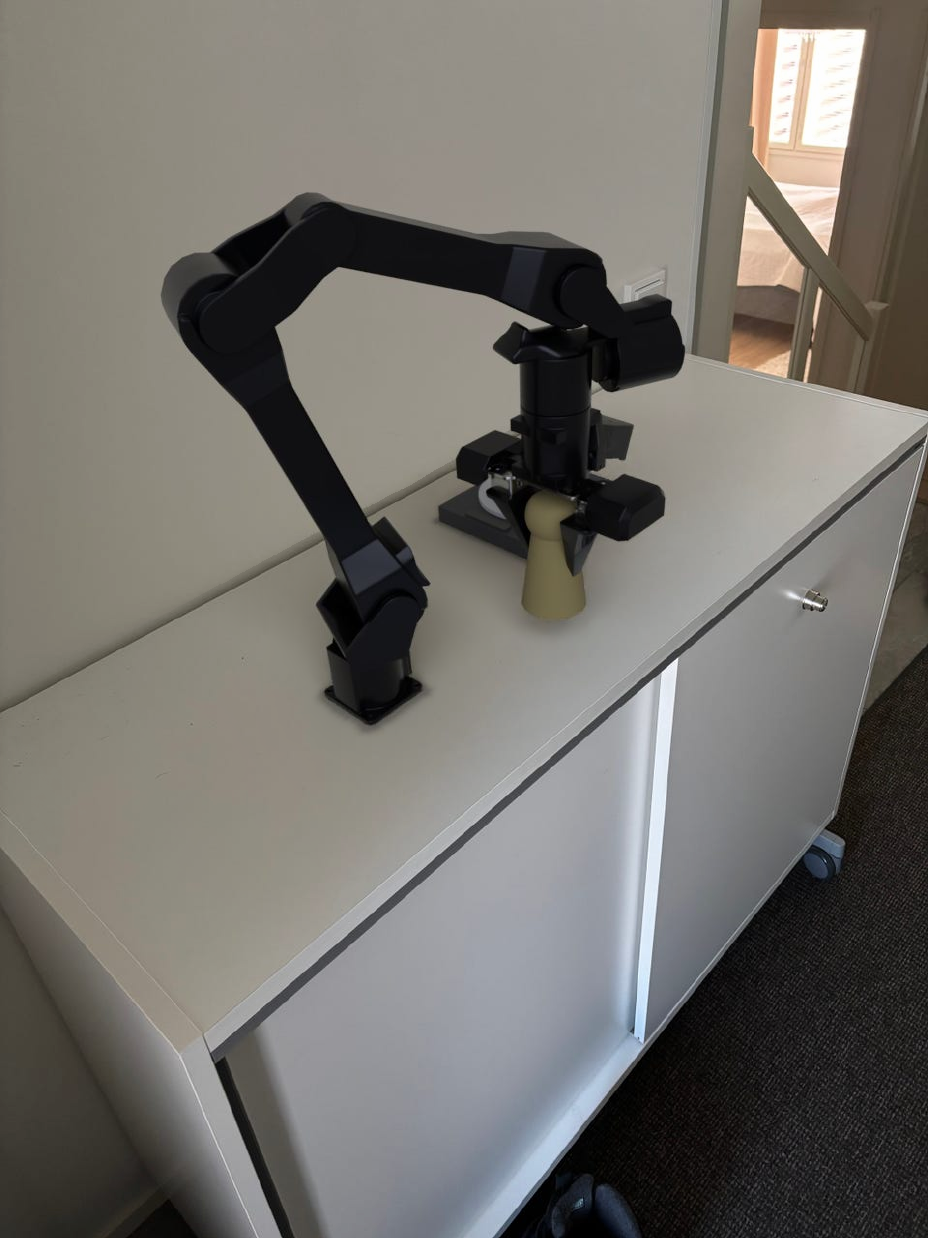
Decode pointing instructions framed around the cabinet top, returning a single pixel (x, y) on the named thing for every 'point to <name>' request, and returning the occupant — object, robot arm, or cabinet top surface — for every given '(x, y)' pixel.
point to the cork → (550, 561)
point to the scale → (484, 517)
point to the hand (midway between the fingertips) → (555, 565)
